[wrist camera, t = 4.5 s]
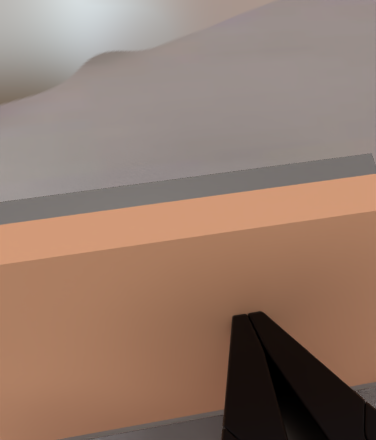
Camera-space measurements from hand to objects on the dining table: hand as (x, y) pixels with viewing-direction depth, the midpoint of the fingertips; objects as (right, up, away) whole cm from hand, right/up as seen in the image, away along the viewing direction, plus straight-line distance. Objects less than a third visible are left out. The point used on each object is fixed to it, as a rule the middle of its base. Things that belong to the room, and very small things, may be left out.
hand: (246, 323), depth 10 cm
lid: (0, -1, +2) cm, 2 cm away
